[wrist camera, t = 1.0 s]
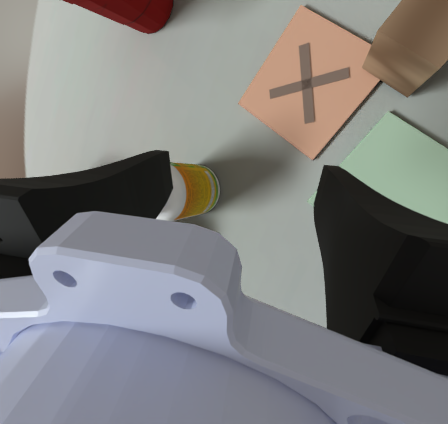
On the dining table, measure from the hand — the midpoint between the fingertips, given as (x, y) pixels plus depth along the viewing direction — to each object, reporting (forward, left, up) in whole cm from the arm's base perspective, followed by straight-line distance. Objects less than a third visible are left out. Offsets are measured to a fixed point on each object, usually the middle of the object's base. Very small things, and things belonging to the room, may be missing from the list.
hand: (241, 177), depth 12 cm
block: (-1, -12, -12) cm, 17 cm away
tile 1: (+4, -7, -13) cm, 15 cm away
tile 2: (-7, -4, -13) cm, 15 cm away
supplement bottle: (+7, +7, -13) cm, 16 cm away
